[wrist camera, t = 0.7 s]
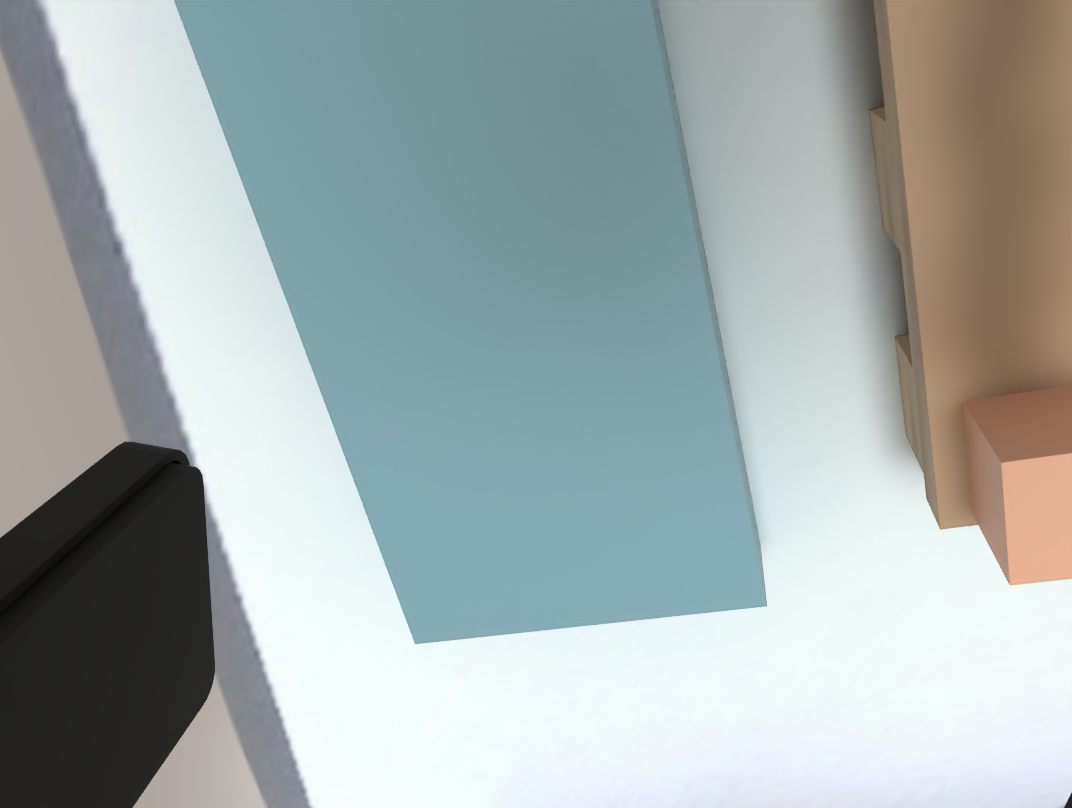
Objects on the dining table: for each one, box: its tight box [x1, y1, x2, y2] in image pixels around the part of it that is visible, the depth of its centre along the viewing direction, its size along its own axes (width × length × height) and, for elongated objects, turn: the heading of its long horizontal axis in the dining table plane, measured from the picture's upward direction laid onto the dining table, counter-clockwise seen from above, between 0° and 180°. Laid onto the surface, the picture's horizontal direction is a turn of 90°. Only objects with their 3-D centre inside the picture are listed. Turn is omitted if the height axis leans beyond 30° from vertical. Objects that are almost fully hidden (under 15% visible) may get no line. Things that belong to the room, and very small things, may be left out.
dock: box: [174, 0, 767, 644], centre depth 32 cm, size 14×28×4 cm, turn 14°
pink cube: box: [962, 385, 1072, 585], centre depth 26 cm, size 4×4×4 cm
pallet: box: [869, 0, 1072, 529], centre depth 27 cm, size 6×22×5 cm, turn 14°
